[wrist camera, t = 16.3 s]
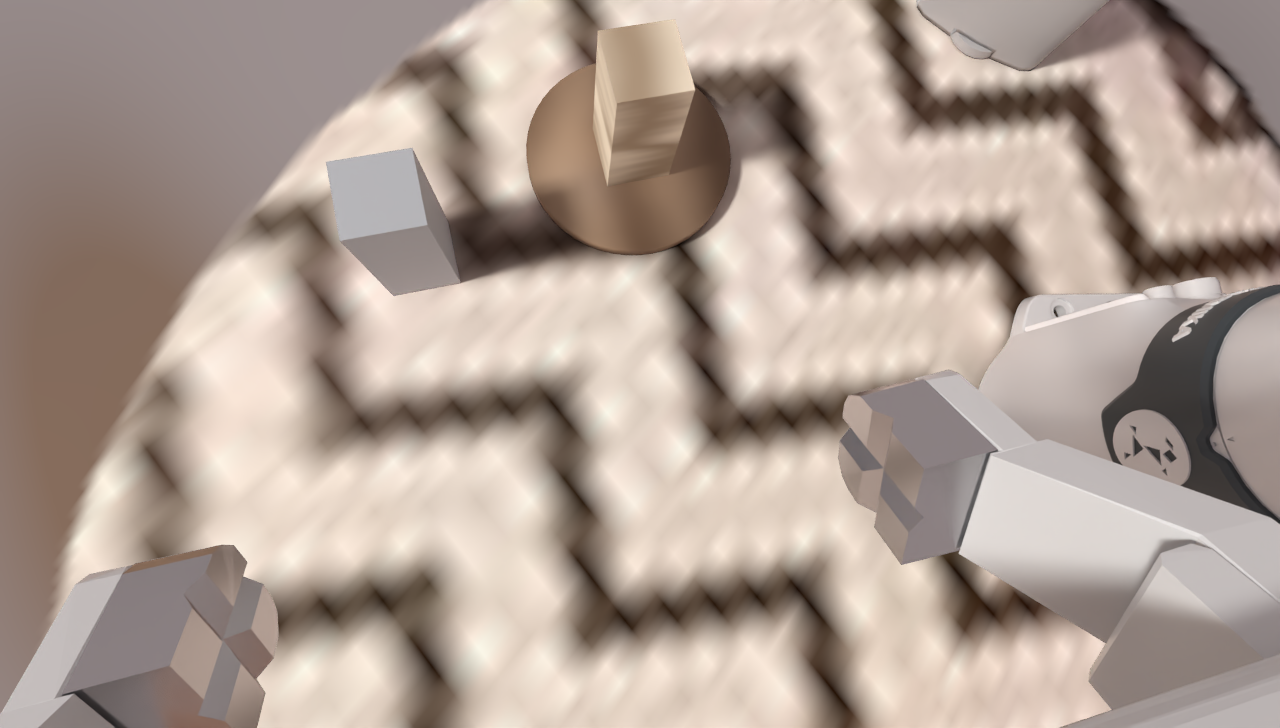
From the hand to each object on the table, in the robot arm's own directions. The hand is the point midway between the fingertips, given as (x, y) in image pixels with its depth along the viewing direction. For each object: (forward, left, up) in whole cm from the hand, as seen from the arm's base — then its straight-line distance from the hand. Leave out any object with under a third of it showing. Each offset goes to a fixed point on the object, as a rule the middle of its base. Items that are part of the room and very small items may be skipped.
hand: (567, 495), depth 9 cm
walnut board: (-8, -19, -29) cm, 36 cm away
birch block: (-8, -19, -28) cm, 35 cm away
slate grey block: (+6, -15, -29) cm, 34 cm away
